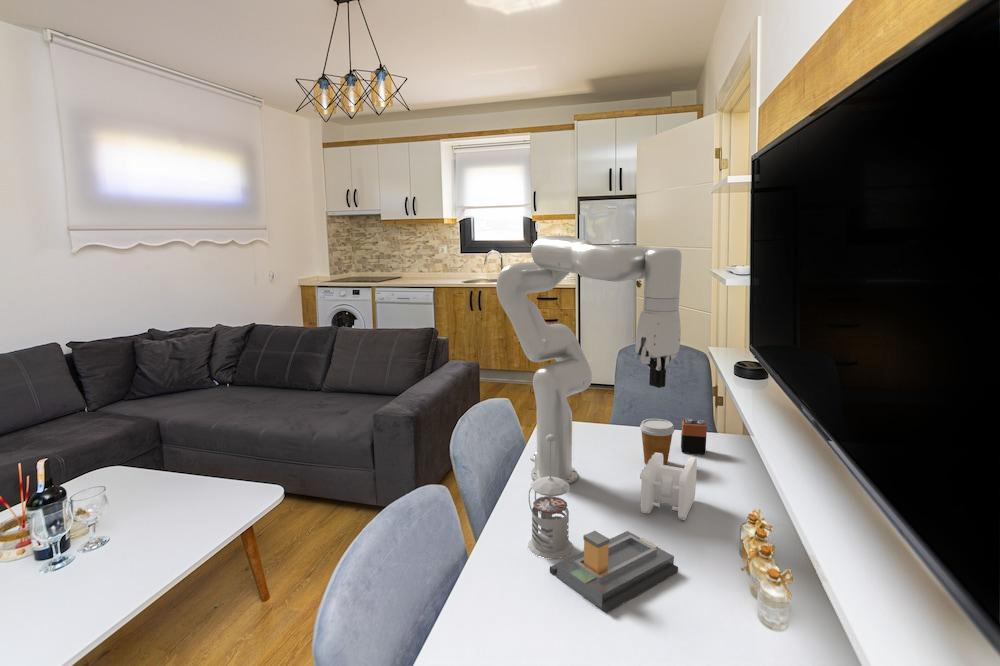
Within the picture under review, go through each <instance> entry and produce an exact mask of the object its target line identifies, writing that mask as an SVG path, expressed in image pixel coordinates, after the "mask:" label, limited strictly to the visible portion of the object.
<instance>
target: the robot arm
mask: <svg viewBox="0 0 1000 666" xmlns="http://www.w3.org/2000/svg"><path fill="white" fill-rule="evenodd" d="M531 246H532V247H531V249H530V257H531V259H532V262H527V261H526V262H516V263H513V264H509V265H507V266H505V267H504V268H502V269H501V270H500V272H499V274H498V276H497V278H496V279H497V280H496V285H495V286H496V287H495V290H496V294H497V299H498V301H499V303H500V305H501V307H502V309H503V310H504V312H505V314H506V315H507V318H508V319H509V321H510V323H511V325H512V327H513V330H514V333H515V334H516V337H517V339H518V342H519V343H520V346H521V347H522V348H521V349H522V350H523V353H524V355H525V356H526V358H527V359H528V360H529V361H531V362H532V363H540V362H541V363H542V362H546V361H551V360H555V362H552V363H548V364H546V365H545V364H544V365H542V366H541V367H540V368H538V369H537V370H536V371H535V372H534V375H533V377H532V389H533V392H534V397H535V406H536V451H535V452H534V453H533V455H532V456H530V458H529V459H530V461H531V462H533V463H534V467H533V468H532V469H531V471H530V476H531V479H532V480H533V481H535V480H537V479H539V478H542V477H547V476H550V442H549V441H546V436H547V435H549V434H552V435H554V437H555V441H552V442H551V477H558V478H560V479H562V480H564V481H566V482H567V483H568V484H569V485H570V484H572V483H574V482H575V481H577V480H578V471H577V470H576V468H574V467H572V465H573V464H572V463H573V458H572V457H573V412H572V408H571V406H570V403H569V402H568V399H567V398H568V397H570V396H572V395H575V394H579V393H583V392H584V391H586V390H587V389H588V388H589V387H590V386H591V384H592V380H593V375H592V370H591V367H590V365H589V362H588V360H587V358H586V356H585V353H584V351H583V349H582V347H581V345H580V343H579V341H578V339H577V337H576V334H575V333H574V332H573V331H572V329H571V328H569V327H568V326H567V325H565V324H563V323H552V324H548V323H547V322H546V320H545V319H544V317H543V314H542V312H541V310H540V309H539V307H538V306H537V304H535V302H534V301H533V300H531V299H530V298H529V297H528V296H527V295H528V294H536V293H544V292H545V293H546V292H548V291H551V290H552V289H554V288H555V287H557V286H558V285H559V284H560V282H562V281H563V280H564V279H565V278H566V277H568V275H569V274H570V273H571V274H578V275H580V276H582V277H585V278H589V279H594V280H599V281H606V282H613V283H614V282H618V283H619V282H625V281H626V282H627V281H635V280H644V282H643V283H644V285H643V286H644V287H643V305H642V306H643V309H642V310H643V311H640V315H639V319H638V324H637V329H636V335H635V336H636V337H635V354H636V355H637V356H640V358H639V363H641V364H646V365H647V368H648V369H649V380H648V381H649V386H650V387H655V388H658V389H660V388H665V387H666V378H667V377H666V376H667V370H668V368H669V366H670V364H669V363H670V362H671V360H673V359H675V358H676V357H677V353H679V351H680V348H681V347H680V346H681V335H682V334H681V329H682V328H681V317H680V310H679V309H680V294H681V293H680V292H681V290H680V289H681V273H682V252H681V251H680V250H679V249H677V248H672V247H671V248H670V247H655V248H653V247H648V246H641V245H635V246H618V247H617V246H615V247H614V246H604V245H603V246H602V245H601V246H600V245H595V244H593V243H592V241H590V240H589V239H586V238H576V237H574V236H572V235H545V236H542V237H539V238H538V239H536V241H534V243H533V244H532V245H531Z"/></svg>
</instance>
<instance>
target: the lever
mask: <svg viewBox="0 0 1000 666" xmlns="http://www.w3.org/2000/svg"><path fill="white" fill-rule="evenodd" d="M609 539H610V538H609V537H606V536H605V535H603V534H602V533H600V532H598V531H596V530H593V531H591V532H588V533H586V534H584V535H583V551H584V565H586V566H587V567H589V568H590V569H592V570H593V571H595V572H596V573H598V574H601V573H603V572H605V571H607V570H608V548H609Z"/></svg>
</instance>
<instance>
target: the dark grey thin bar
mask: <svg viewBox="0 0 1000 666" xmlns="http://www.w3.org/2000/svg"><path fill="white" fill-rule="evenodd" d="M678 573H679V566H677V565H676V564H674V565H672V566H670V567H668V568H666V569H664V570H663V571H661V572H659V573H657V574H655V575H654V576H652V577H650V578H648V579H646V580H644V581H643V582H641V583H639V584H637V585H635V586H633V587H632V588H630V589H628V590H626V591H624V592H623V593H621V594H619V595H617V596H615V597H613V598H612V599H610V600H608V601H606V602H604V603H602V610H601V611H603V612H604V613H606V614H607V613H610V612H612V611H613V610H615V609H617V608H618V607H620V606H622V605H623V604H625V603H627V602H628V601H630V600H632V599H634V598H636V597H637V596H639V595H640V594H643V593H645V592H646V591H648V590H650V589H652V588H654V587H655V586H657V585H658V583H659V584H661V583H662V582H664V581H666V580H667V579H669V578H671V577H672V576H674V575H676V574H678ZM660 582H661V583H660Z"/></svg>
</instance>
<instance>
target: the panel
mask: <svg viewBox="0 0 1000 666" xmlns="http://www.w3.org/2000/svg"><path fill="white" fill-rule="evenodd" d="M674 561H675V556H674V555H672V554H670V553H669V552H667V551H665V550H663V549H661V548H660V547H659V545H657V544H655V543H653V542H652V541H649V540H648V539H646V538H644V537H640V536H638V535H635V534H634V533H632V532H631V531H629V530H626V531H624V532H622V533H620V534H618V535H616V536H613V537H611V538H609V548H608V570H607V571H605V572H603V573H601V574H598V573H596V572H595V571H593V570H592V569H590V568H589V567H587V566H586V565H584V550H583V551H581V552H578V553H576V554H575V555H572V556H570V557H568V558H566V559H563V560H561V561H559V562H557V563H556V564H557V574H556V578H557V579H559V580H560V581H561V582H562V583H564V584H565V585H567V586H569V588H571V589H573V590H574V591H575V592H576V593H578V594H580V595H581V596H582V597H583V598H585V599H586V600H587V601H589V602H590V603H592V604H593V605H595V606H596V607H597V608H598V609H600V610H601V611H603V610H602V603H604V602H606V601H608V600H610V599H612V598H613V597H615V596H617V595H619V594H621V593H623V592H624V591H626V590H628V589H630V588H632V587H633V586H635V585H637V584H639V583H641V582H643V581H644V580H646V579H648V578H650V577H652V576H654V575H655V574H657V573H659V572H661V571H663V570H664V569H666V568H668V567H670V566H672V565H675V562H674Z"/></svg>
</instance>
